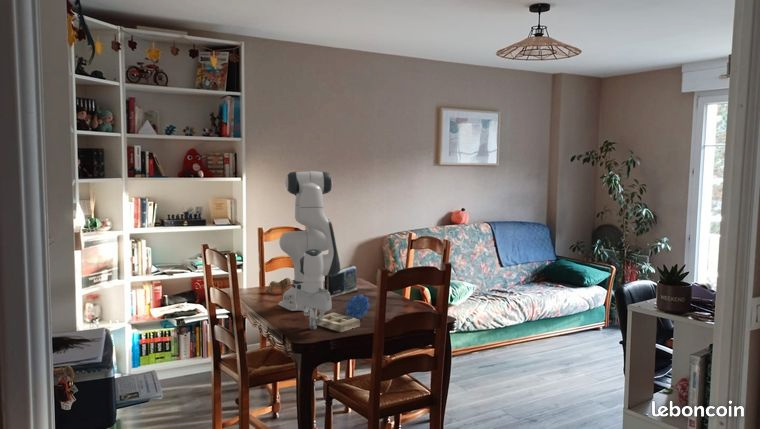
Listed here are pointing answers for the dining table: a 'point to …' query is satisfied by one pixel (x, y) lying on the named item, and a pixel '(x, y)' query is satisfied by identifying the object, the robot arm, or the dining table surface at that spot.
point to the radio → (342, 282)
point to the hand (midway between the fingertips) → (313, 317)
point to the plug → (313, 318)
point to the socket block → (338, 322)
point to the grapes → (357, 306)
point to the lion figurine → (280, 285)
